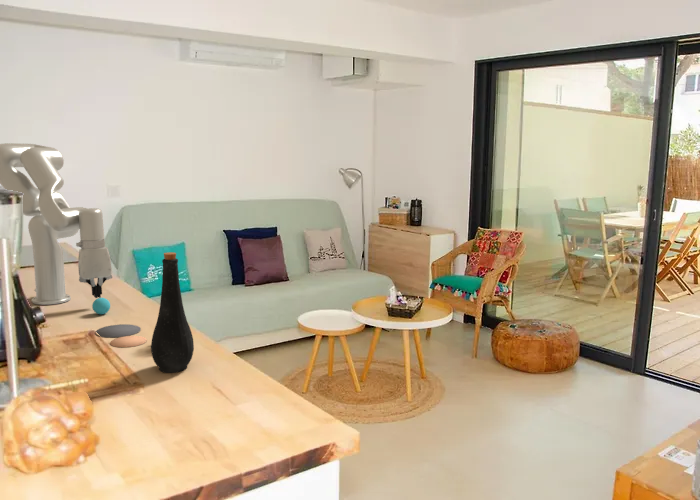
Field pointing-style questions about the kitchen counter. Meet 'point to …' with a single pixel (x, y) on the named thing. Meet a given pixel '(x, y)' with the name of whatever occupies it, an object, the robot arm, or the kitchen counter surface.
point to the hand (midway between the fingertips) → (97, 297)
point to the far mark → (128, 341)
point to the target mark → (118, 330)
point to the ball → (101, 306)
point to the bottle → (171, 323)
